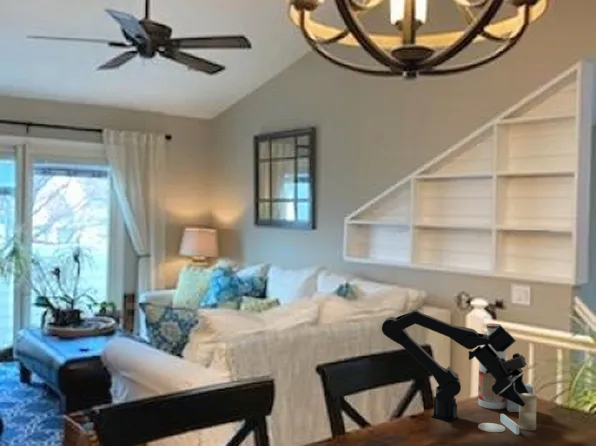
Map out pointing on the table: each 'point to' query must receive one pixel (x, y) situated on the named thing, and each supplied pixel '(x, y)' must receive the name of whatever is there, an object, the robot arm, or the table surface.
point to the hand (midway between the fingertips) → (527, 402)
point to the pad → (491, 427)
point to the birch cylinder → (528, 412)
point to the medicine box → (513, 406)
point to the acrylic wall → (509, 424)
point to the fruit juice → (489, 381)
